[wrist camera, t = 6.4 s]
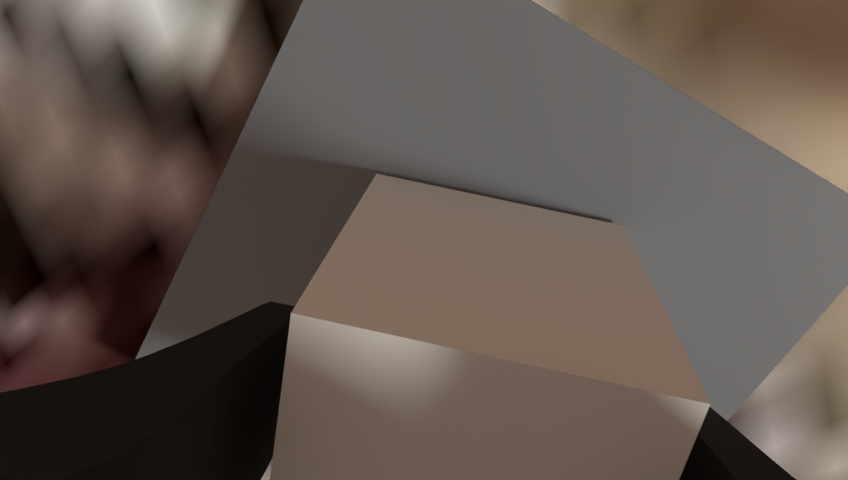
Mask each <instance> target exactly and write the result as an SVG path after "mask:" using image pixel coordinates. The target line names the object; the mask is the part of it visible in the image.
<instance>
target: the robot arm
mask: <svg viewBox="0 0 848 480" xmlns="http://www.w3.org/2000/svg"><path fill="white" fill-rule="evenodd" d="M294 307H295V306H291V305H286V304H282V303H277V302H272V301H271V302H268V303H265V304H263V305H260V306H258V307H256V308H254V309H252V310H249V311H247V312H245V313H243V314H241V315H239V316H237V317H235V318H233V319H231V320H229V321H226V322H224V323H222V324H220V325H218V326H216V327H213V328H211V329H209V330H207V331H205V332H203V333H201V334H198V335H196V336H194V337H191V338H189V339H186V340H184V341H181V342H179V343H176V344H174V345H172V346H169V347H167V348H164V349H162V350H159V351H157V352H154V353H152V354H149V355H147V356H144V357H141V358H138V359H135V360H132V361H129V362H126V363H123V364H120V365H117V366H113V367H110V368H107V369H103V370H100V371H96V372H93V373H89V374H86V375H82V376H78V377H74V378H69V379H65V380H60V381H55V382H51V383H46V384H42V385H37V386H32V387H28V388H23V389H18V390H13V391H8V392H2V393H0V480H261V478H262V476H263V474H264V473H265V471H266V469H267V467H268V465H269V463H270V462H271V460H272V458H273V451H274V443H275V435H276V427H277V420H278V412H279V404H280V396H281V388H282V380H283V372H284V364H285V356H286V348H287V340H288V332H289V324H290V316H291V312H292V310H293V309H294ZM679 480H796V479H795V478H793V477H792V476H791V475H790V474H788V473H787V472H786V471H785V470H784V469H782V468H781V467H780V466H779V465H778V464H776V463H775V462H774V461H773V460H772V459H770V458H769V457H768V456H767V455H766V454H765V453H763V452H762V451H761V450H760V449H759V448H757V447H756V446H755V445H754V444H753V443H752V442H751V441H749V440H748V439H747V438H746V437H745V436H744V435H742V434H741V433H740V432H739V431H738V430H737V429H735V428H734V427H733V426H732V425H731V424H730V423H729V422H727V421H726V420H725V419H724V418H723V417H722V416H720V415H719V414H718V413H717V412H716V411H715V410H713V409H712V408H711V407H709V409H708V411H707V414H706V416H705V419H704V421H703V423H702V426H701V428H700V431H699V433H698V435H697V438H696V440H695V443H694V445H693V447H692V450H691V452H690V455H689V457H688V459H687V462H686V464H685V467H684V469H683V471H682V474H681V476H680V479H679Z"/></svg>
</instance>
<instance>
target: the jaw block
mask: <svg viewBox="0 0 848 480" xmlns="http://www.w3.org/2000/svg"><path fill="white" fill-rule="evenodd" d="M709 407H710V402H709V400H708V398H707V396H706V394H705V392H704V390H703V388H702V386H701V384H700V381H699V379H698V377H697V375H696V373H695V371H694V369H693V367H692V365H691V363H690V361H689V359H688V357H687V354H686V352H685V350H684V348H683V346H682V344H681V342H680V340H679V338H678V336H677V334H676V332H675V330H674V327H673V325H672V323H671V321H670V319H669V317H668V315H667V313H666V311H665V309H664V307H663V305H662V303H661V301H660V298H659V296H658V294H657V292H656V290H655V288H654V286H653V284H652V282H651V280H650V278H649V276H648V274H647V271H646V269H645V267H644V265H643V263H642V261H641V259H640V257H639V255H638V253H637V251H636V249H635V247H634V244H633V242H632V240H631V238H630V236H629V234H628V232H627V230H626V228H625V226H623V225H619V224H614V223H609V222H604V221H600V220H595V219H590V218H585V217H581V216H576V215H571V214H566V213H562V212H557V211H552V210H547V209H543V208H538V207H533V206H528V205H524V204H519V203H514V202H509V201H505V200H500V199H495V198H491V197H486V196H481V195H476V194H472V193H467V192H462V191H457V190H453V189H448V188H443V187H438V186H434V185H429V184H424V183H419V182H415V181H410V180H405V179H400V178H396V177H391V176H386V175H381V174H376V175H375V177H374V178H373V180H372V182H371V183H370V185H369V187H368V188H367V190H366V192H365V193H364V195H363V196H362V198H361V200H360V201H359V203H358V205H357V206H356V208H355V209H354V211H353V213H352V214H351V216H350V218H349V219H348V221H347V222H346V224H345V226H344V227H343V229H342V231H341V232H340V234H339V236H338V237H337V239H336V240H335V242H334V244H333V245H332V247H331V249H330V250H329V252H328V253H327V255H326V257H325V258H324V260H323V262H322V263H321V265H320V266H319V268H318V270H317V271H316V273H315V275H314V276H313V278H312V279H311V281H310V283H309V284H308V286H307V288H306V289H305V291H304V293H303V294H302V296H301V297H300V299H299V301H298V302H297V304H296V306H295V307H294V309H293V310H292V312H291V316H290V324H289V332H288V340H287V348H286V356H285V364H284V372H283V380H282V388H281V396H280V404H279V412H278V420H277V427H276V435H275V443H274V451H273V459H272V467H271V475H270V480H679V479H680V476H681V474H682V471H683V469H684V467H685V464H686V462H687V459H688V457H689V455H690V452H691V450H692V447H693V445H694V443H695V440H696V438H697V435H698V433H699V431H700V428H701V426H702V423H703V421H704V419H705V416H706V414H707V411H708V409H709Z"/></svg>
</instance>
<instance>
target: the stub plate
mask: <svg viewBox="0 0 848 480" xmlns="http://www.w3.org/2000/svg"><path fill="white" fill-rule="evenodd" d="M376 174H381V175H386V176H391V177H396V178H400V179H405V180H410V181H415V182H419V183H424V184H429V185H434V186H438V187H443V188H448V189H453V190H457V191H462V192H467V193H472V194H476V195H481V196H486V197H491V198H495V199H500V200H505V201H509V202H514V203H519V204H524V205H528V206H533V207H538V208H543V209H547V210H552V211H557V212H562V213H566V214H571V215H576V216H581V217H585V218H590V219H595V220H600V221H604V222H609V223H614V224H619V225H623V226H625V228H626V230H627V232H628V234H629V236H630V238H631V240H632V242H633V244H634V247H635V249H636V251H637V253H638V255H639V257H640V259H641V261H642V263H643V265H644V267H645V269H646V271H647V274H648V276H649V278H650V280H651V282H652V284H653V286H654V288H655V290H656V292H657V294H658V296H659V298H660V301H661V303H662V305H663V307H664V309H665V311H666V313H667V315H668V317H669V319H670V321H671V323H672V325H673V327H674V330H675V332H676V334H677V336H678V338H679V340H680V342H681V344H682V346H683V348H684V350H685V352H686V354H687V357H688V359H689V361H690V363H691V365H692V367H693V369H694V371H695V373H696V375H697V377H698V379H699V381H700V384H701V386H702V388H703V390H704V392H705V394H706V396H707V398H708V400H709V402H710V407H711V408H712V409H713V410H715V411H716V412H717V413H718V414H719V415H720V416H722V417H723V418H724V419H725V420H726V421H728V420H729V419H730V417H731V416H732V415H733V414H734V413H735V412H736V411H737V410H738V408H739V407H740V406H741V405H742V404H743V403H744V402H745V400H746V399H747V398H748V397H749V396H750V395H751V394H752V393H753V391H754V390H755V389H756V388H757V387H758V386H759V385H760V383H761V382H762V381H763V380H764V379H765V378H766V377H767V376H768V374H769V373H770V372H771V371H772V370H773V369H774V368H775V367H776V365H777V364H778V363H779V362H780V361H781V360H782V359H783V357H784V356H785V355H786V354H787V353H788V352H789V351H790V350H791V348H792V347H793V346H794V345H795V344H796V343H797V342H798V341H799V339H800V338H801V337H802V336H803V335H804V334H805V333H806V331H807V330H808V329H809V328H810V327H811V326H812V325H813V324H814V322H815V321H816V320H817V319H818V318H819V317H820V316H821V314H822V313H823V312H824V311H825V310H826V309H827V308H828V307H829V305H830V304H831V303H832V302H833V301H834V300H835V299H836V298H837V296H838V295H839V294H840V293H841V292H842V291H843V290H844V288H845V287H846V286H847V285H848V193H846V192H845V191H843V190H841V189H840V188H838V187H836V186H835V185H833V184H832V183H830V182H828V181H827V180H825V179H823V178H822V177H820V176H818V175H817V174H815V173H813V172H812V171H810V170H809V169H807V168H805V167H804V166H802V165H800V164H799V163H797V162H795V161H794V160H792V159H791V158H789V157H787V156H786V155H784V154H782V153H781V152H779V151H777V150H776V149H774V148H772V147H771V146H769V145H768V144H766V143H764V142H763V141H761V140H759V139H758V138H756V137H754V136H753V135H751V134H750V133H748V132H746V131H745V130H743V129H741V128H740V127H738V126H736V125H735V124H733V123H731V122H730V121H728V120H727V119H725V118H723V117H722V116H720V115H718V114H717V113H715V112H713V111H712V110H710V109H709V108H707V107H705V106H704V105H702V104H700V103H699V102H697V101H695V100H694V99H692V98H691V97H689V96H687V95H686V94H684V93H682V92H681V91H679V90H677V89H676V88H674V87H672V86H671V85H669V84H668V83H666V82H664V81H663V80H661V79H659V78H658V77H656V76H654V75H653V74H651V73H650V72H648V71H646V70H645V69H643V68H641V67H640V66H638V65H636V64H635V63H633V62H631V61H630V60H628V59H627V58H625V57H623V56H622V55H620V54H618V53H617V52H615V51H613V50H612V49H610V48H609V47H607V46H605V45H604V44H602V43H600V42H599V41H597V40H595V39H594V38H592V37H590V36H589V35H587V34H586V33H584V32H582V31H581V30H579V29H577V28H576V27H574V26H572V25H571V24H569V23H568V22H566V21H564V20H563V19H561V18H559V17H558V16H556V15H554V14H553V13H551V12H550V11H548V10H546V9H545V8H543V7H541V6H540V5H538V4H536V3H535V2H533V1H531V0H303V2H302V4H301V6H300V8H299V10H298V12H297V14H296V16H295V19H294V21H293V23H292V25H291V27H290V29H289V31H288V34H287V36H286V38H285V40H284V42H283V44H282V46H281V49H280V51H279V53H278V55H277V57H276V59H275V61H274V64H273V66H272V68H271V70H270V72H269V74H268V76H267V79H266V81H265V83H264V85H263V87H262V89H261V91H260V93H259V96H258V98H257V100H256V102H255V104H254V106H253V108H252V111H251V113H250V115H249V117H248V119H247V121H246V123H245V126H244V128H243V130H242V132H241V134H240V136H239V138H238V141H237V143H236V145H235V147H234V149H233V151H232V153H231V156H230V158H229V160H228V162H227V164H226V166H225V168H224V171H223V173H222V175H221V177H220V179H219V181H218V183H217V185H216V188H215V190H214V192H213V194H212V196H211V198H210V200H209V203H208V205H207V207H206V209H205V211H204V213H203V215H202V218H201V220H200V222H199V224H198V226H197V228H196V230H195V233H194V235H193V237H192V239H191V241H190V243H189V245H188V248H187V250H186V252H185V254H184V256H183V258H182V260H181V263H180V265H179V267H178V269H177V271H176V273H175V275H174V277H173V280H172V282H171V284H170V286H169V288H168V290H167V292H166V295H165V297H164V299H163V301H162V303H161V305H160V307H159V310H158V312H157V314H156V316H155V318H154V320H153V322H152V325H151V327H150V329H149V331H148V333H147V335H146V337H145V340H144V342H143V344H142V346H141V348H140V350H139V352H138V355H137V357H136V359H138V358H141V357H144V356H147V355H149V354H152V353H154V352H157V351H159V350H162V349H164V348H167V347H169V346H172V345H174V344H176V343H179V342H181V341H184V340H186V339H189V338H191V337H194V336H196V335H198V334H201V333H203V332H205V331H207V330H209V329H211V328H213V327H216V326H218V325H220V324H222V323H224V322H226V321H229V320H231V319H233V318H235V317H237V316H239V315H241V314H243V313H245V312H247V311H249V310H252V309H254V308H256V307H258V306H260V305H263V304H265V303H268V302H271V301H272V302H277V303H282V304H286V305H291V306H296V304H297V302H298V301H299V299H300V297H301V296H302V294H303V293H304V291H305V289H306V288H307V286H308V284H309V283H310V281H311V279H312V278H313V276H314V275H315V273H316V271H317V270H318V268H319V266H320V265H321V263H322V262H323V260H324V258H325V257H326V255H327V253H328V252H329V250H330V249H331V247H332V245H333V244H334V242H335V240H336V239H337V237H338V236H339V234H340V232H341V231H342V229H343V227H344V226H345V224H346V222H347V221H348V219H349V218H350V216H351V214H352V213H353V211H354V209H355V208H356V206H357V205H358V203H359V201H360V200H361V198H362V196H363V195H364V193H365V192H366V190H367V188H368V187H369V185H370V183H371V182H372V180H373V178H374V177H375V175H376ZM272 459H273V458H272ZM269 465H270V466H272V460H271V462H270V463H269Z"/></svg>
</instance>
